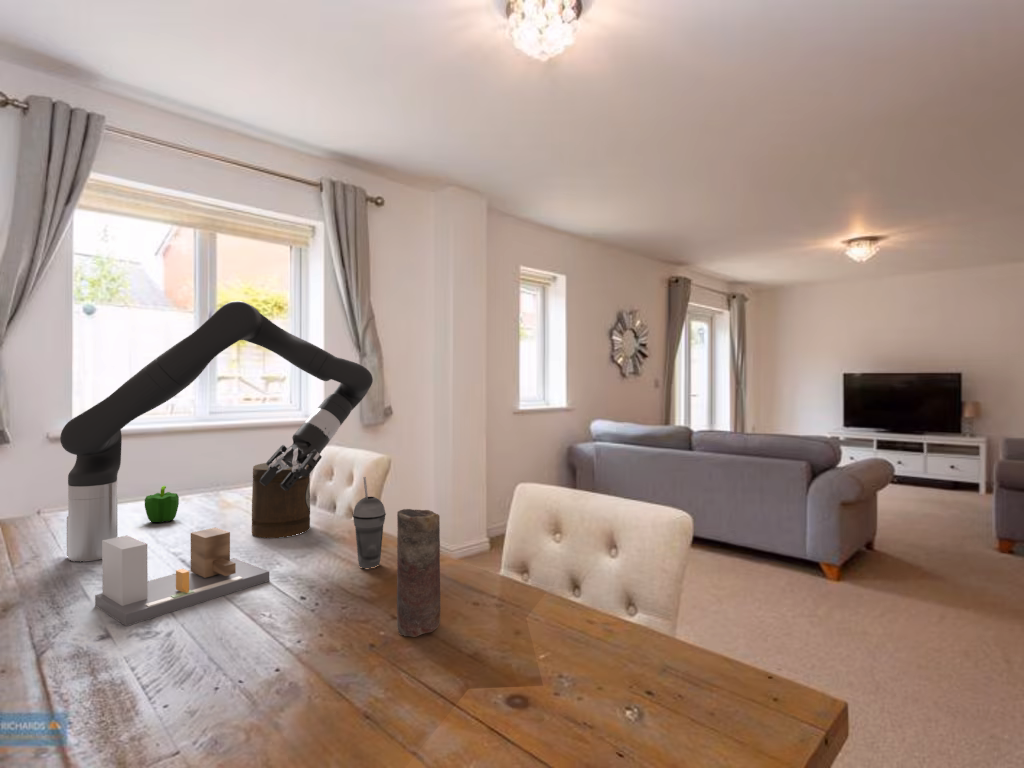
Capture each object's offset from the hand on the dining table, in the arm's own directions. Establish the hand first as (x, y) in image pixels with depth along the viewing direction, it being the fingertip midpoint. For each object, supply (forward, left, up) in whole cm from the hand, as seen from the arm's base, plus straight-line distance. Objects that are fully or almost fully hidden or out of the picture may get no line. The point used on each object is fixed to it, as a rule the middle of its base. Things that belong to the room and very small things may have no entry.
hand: (272, 486), depth 126 cm
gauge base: (-3, -19, -18) cm, 26 cm away
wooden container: (-18, +22, -18) cm, 34 cm away
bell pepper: (-57, +17, -18) cm, 62 cm away
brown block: (-1, -14, -15) cm, 21 cm away
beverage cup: (+21, +7, -18) cm, 28 cm away
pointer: (+1, -23, -15) cm, 27 cm away
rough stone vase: (+47, -16, -18) cm, 53 cm away
